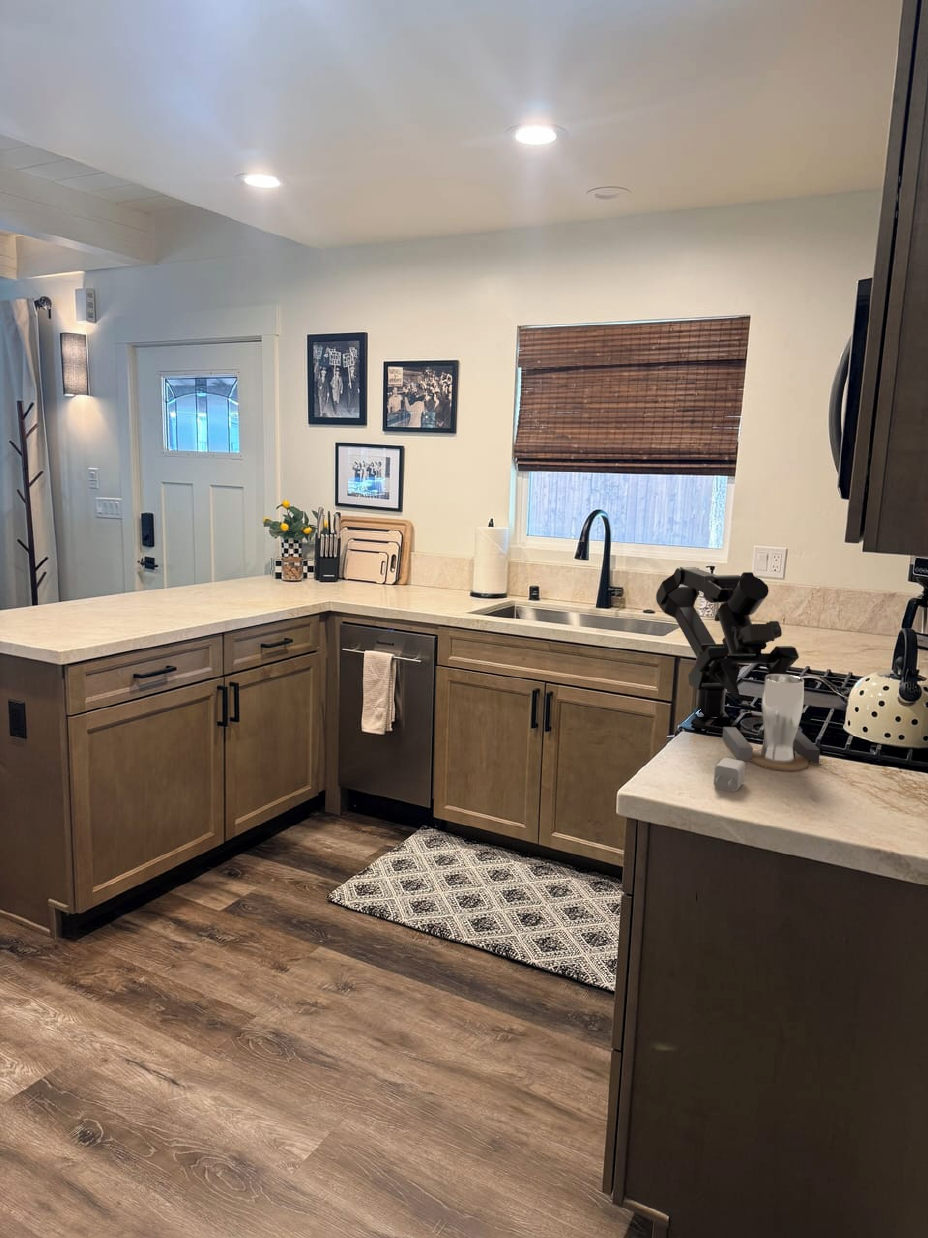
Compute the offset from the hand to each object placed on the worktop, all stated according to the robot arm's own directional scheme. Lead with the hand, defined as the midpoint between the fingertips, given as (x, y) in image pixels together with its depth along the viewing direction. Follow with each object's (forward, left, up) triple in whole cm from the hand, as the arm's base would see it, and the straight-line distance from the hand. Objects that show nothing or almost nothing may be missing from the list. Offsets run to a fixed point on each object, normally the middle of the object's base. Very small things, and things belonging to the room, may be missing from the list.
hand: (760, 697), depth 158 cm
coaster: (+8, +2, -10) cm, 13 cm away
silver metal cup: (+8, +2, -9) cm, 12 cm away
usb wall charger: (+22, -11, -10) cm, 26 cm away
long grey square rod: (+2, +8, -10) cm, 13 cm away
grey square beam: (+2, -4, -10) cm, 11 cm away
